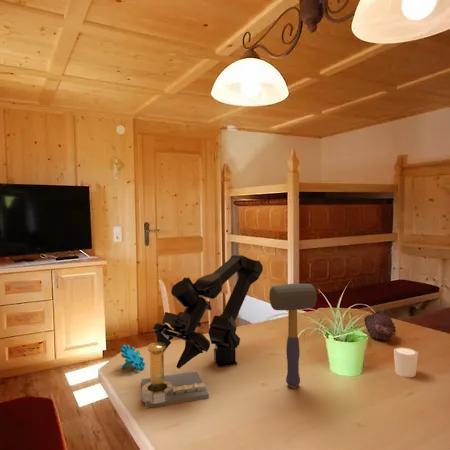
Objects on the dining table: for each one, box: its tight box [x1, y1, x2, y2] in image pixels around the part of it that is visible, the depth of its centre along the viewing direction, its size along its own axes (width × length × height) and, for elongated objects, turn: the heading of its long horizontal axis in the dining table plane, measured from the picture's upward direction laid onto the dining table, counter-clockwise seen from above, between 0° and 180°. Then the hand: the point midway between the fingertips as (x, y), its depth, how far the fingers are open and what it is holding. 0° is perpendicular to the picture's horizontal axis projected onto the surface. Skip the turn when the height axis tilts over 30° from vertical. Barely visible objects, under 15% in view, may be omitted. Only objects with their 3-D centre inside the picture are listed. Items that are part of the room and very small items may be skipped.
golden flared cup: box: [147, 341, 167, 392], centre depth 101 cm, size 5×5×14 cm
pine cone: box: [363, 312, 397, 341], centre depth 147 cm, size 18×10×10 cm, turn 10°
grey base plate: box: [141, 371, 210, 409], centre depth 107 cm, size 17×15×1 cm
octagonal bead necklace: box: [141, 375, 207, 404], centre depth 106 cm, size 17×15×2 cm
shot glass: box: [393, 347, 419, 378], centre depth 116 cm, size 7×7×7 cm
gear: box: [120, 344, 146, 372], centre depth 122 cm, size 11×6×10 cm
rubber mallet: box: [268, 283, 318, 388], centre depth 107 cm, size 12×8×30 cm, turn 103°
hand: (165, 363), depth 104 cm, fingers open, 9 cm apart
